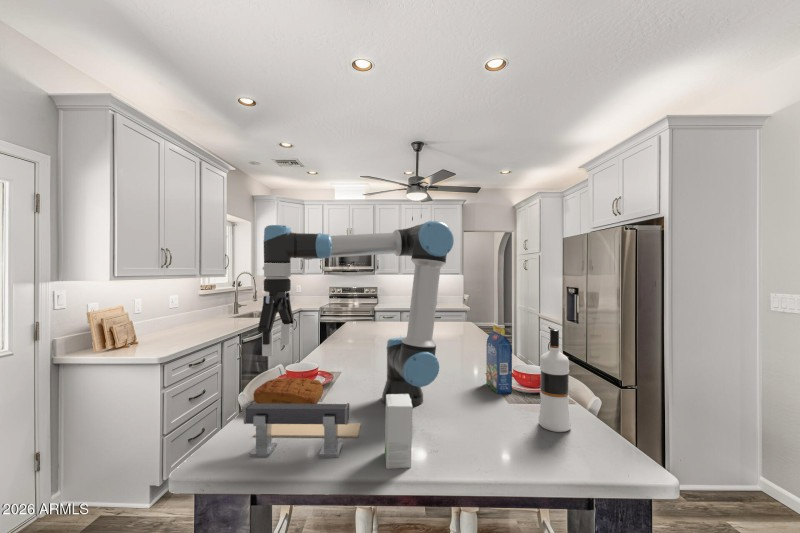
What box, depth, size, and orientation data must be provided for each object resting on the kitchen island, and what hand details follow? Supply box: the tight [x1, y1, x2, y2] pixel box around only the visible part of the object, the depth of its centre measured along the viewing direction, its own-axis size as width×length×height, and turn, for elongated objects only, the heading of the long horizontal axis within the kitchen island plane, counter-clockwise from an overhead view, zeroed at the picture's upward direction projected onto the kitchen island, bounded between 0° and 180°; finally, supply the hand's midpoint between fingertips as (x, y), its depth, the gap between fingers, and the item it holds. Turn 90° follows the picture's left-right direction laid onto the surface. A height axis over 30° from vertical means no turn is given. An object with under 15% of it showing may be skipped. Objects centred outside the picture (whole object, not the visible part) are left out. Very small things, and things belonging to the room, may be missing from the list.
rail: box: [243, 402, 350, 425], centre depth 96 cm, size 27×4×4 cm, turn 89°
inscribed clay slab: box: [252, 377, 324, 404], centre depth 128 cm, size 22×17×8 cm
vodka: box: [537, 328, 572, 433], centre depth 111 cm, size 9×9×30 cm
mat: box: [253, 423, 361, 438], centre depth 108 cm, size 30×8×1 cm, turn 89°
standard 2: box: [318, 416, 343, 458], centre depth 96 cm, size 5×6×10 cm
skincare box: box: [384, 394, 414, 470], centre depth 92 cm, size 8×7×16 cm
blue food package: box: [485, 324, 513, 394], centre depth 146 cm, size 6×12×25 cm, turn 6°
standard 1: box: [249, 415, 278, 458], centre depth 96 cm, size 5×6×10 cm
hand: (277, 350), depth 106 cm, fingers open, 13 cm apart
